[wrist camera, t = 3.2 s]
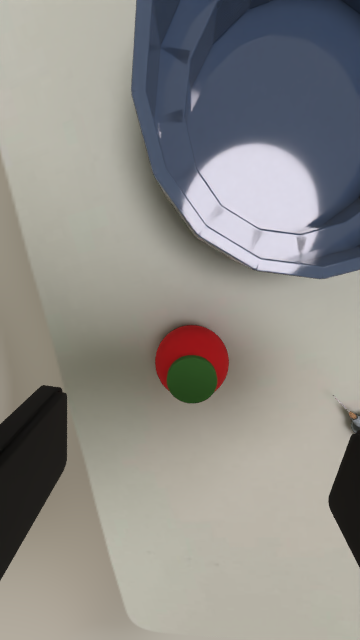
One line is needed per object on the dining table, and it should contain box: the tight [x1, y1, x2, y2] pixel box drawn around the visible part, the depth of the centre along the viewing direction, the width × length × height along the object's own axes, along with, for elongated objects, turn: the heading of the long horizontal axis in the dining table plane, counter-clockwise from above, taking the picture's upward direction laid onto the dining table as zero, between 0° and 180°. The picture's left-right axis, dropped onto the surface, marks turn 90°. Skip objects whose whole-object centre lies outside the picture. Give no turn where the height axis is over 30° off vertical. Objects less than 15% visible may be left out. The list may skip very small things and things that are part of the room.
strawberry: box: [155, 325, 229, 403], centre depth 15 cm, size 4×4×4 cm
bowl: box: [131, 0, 360, 279], centre depth 11 cm, size 13×13×5 cm
